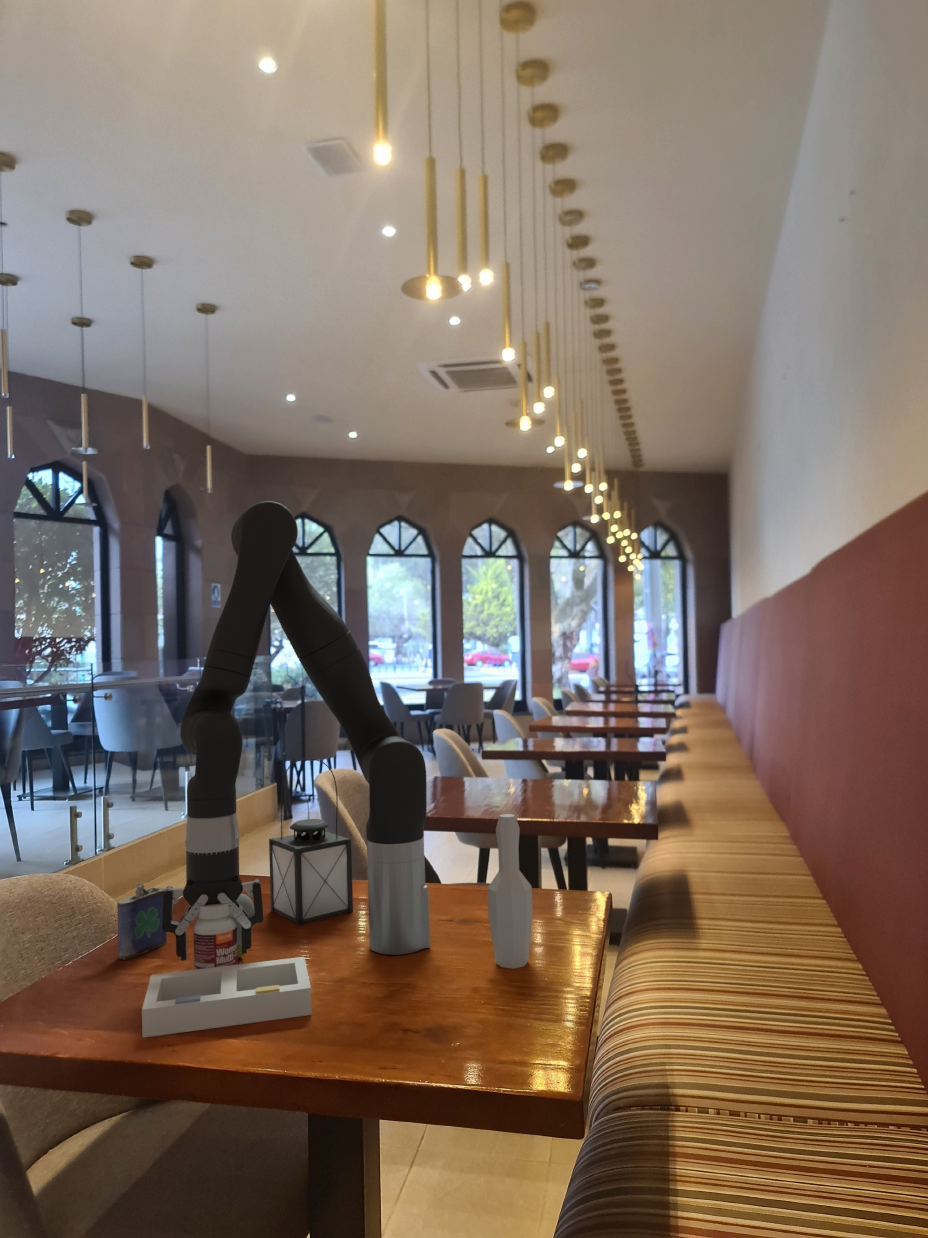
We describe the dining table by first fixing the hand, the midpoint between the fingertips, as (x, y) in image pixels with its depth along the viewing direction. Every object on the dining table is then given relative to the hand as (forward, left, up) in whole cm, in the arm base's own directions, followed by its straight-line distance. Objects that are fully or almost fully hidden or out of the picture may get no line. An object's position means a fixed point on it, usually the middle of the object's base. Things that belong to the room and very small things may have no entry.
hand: (214, 955), depth 128 cm
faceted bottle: (-43, +8, -4) cm, 44 cm away
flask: (+12, -17, -4) cm, 21 cm away
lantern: (-16, -28, -4) cm, 32 cm away
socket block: (-2, +11, -3) cm, 12 cm away
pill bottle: (0, 0, -4) cm, 4 cm away
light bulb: (-3, -8, -4) cm, 9 cm away
